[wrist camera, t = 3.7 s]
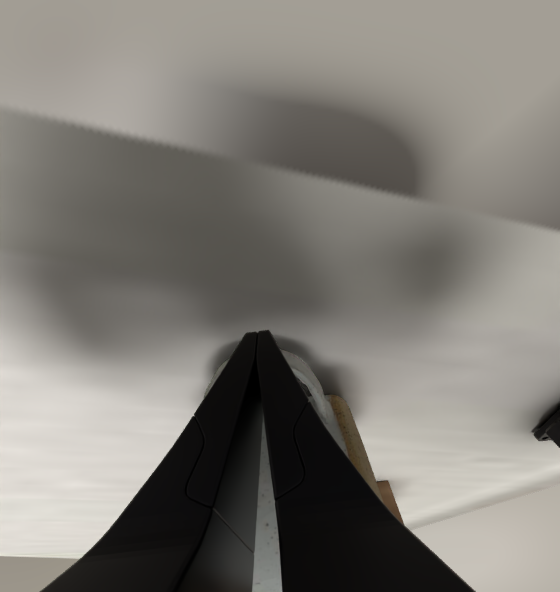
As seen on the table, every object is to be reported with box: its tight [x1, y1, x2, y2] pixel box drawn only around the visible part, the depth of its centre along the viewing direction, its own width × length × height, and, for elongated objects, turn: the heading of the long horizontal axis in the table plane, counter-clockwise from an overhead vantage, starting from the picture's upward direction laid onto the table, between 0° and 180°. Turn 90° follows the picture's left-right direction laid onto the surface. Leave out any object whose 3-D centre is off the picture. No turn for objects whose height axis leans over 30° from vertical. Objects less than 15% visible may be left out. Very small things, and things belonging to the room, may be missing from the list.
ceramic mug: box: [204, 350, 383, 592], centre depth 11 cm, size 11×8×8 cm
